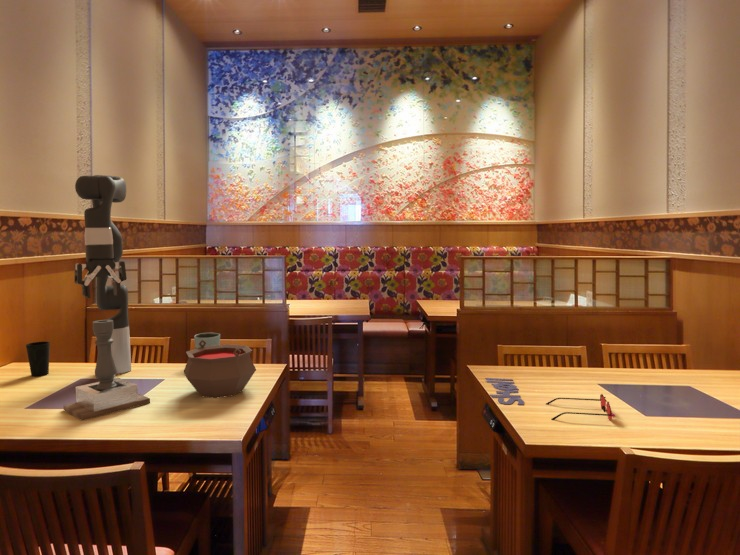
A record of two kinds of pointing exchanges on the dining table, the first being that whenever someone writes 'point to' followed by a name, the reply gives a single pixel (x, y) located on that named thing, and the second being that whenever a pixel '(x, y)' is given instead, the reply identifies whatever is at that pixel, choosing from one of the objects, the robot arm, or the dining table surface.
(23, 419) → the dining table surface
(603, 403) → the glasses
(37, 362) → the cup
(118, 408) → the socket board
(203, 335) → the grey cylindrical container
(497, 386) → the signage
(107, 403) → the square collar
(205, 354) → the brown cauldron
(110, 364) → the candle holder
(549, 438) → the dining table surface
